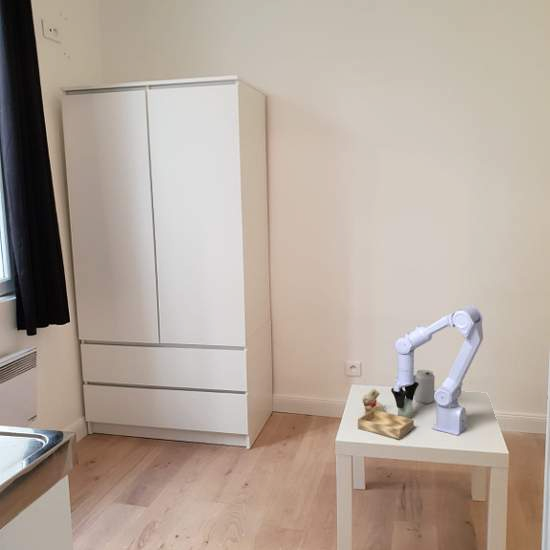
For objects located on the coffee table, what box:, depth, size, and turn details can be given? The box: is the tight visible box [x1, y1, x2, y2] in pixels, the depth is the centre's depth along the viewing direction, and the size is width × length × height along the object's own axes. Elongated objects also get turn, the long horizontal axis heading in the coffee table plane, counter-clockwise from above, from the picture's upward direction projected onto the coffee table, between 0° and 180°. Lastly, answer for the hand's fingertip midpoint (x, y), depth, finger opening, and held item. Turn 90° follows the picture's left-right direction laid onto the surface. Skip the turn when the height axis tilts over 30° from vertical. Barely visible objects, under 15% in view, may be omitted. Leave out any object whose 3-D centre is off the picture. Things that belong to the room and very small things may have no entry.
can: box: [413, 369, 436, 405], centre depth 230 cm, size 8×8×12 cm
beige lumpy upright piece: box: [362, 388, 387, 415], centre depth 219 cm, size 6×8×10 cm
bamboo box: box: [357, 409, 415, 441], centre depth 205 cm, size 16×11×4 cm
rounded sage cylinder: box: [397, 397, 413, 419], centre depth 215 cm, size 5×5×6 cm
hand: (404, 404), depth 214 cm, fingers open, 7 cm apart
